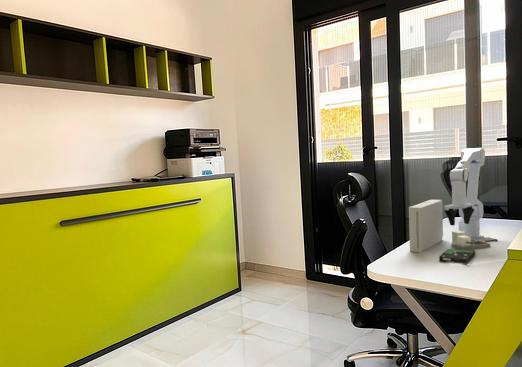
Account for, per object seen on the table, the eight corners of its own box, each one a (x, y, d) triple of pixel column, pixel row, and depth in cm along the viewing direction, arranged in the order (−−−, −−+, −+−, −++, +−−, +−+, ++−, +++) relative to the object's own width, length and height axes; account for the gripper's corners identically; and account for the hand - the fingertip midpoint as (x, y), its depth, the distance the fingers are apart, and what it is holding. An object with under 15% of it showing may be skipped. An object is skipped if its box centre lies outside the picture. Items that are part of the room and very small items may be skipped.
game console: (408, 251, 178) (407, 207, 176) (430, 239, 197) (430, 199, 196) (421, 253, 174) (420, 207, 172) (443, 240, 193) (442, 200, 192)
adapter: (456, 247, 178) (456, 236, 177) (464, 246, 179) (464, 235, 178) (468, 251, 171) (468, 239, 170) (476, 250, 171) (476, 238, 171)
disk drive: (467, 266, 153) (475, 256, 165) (467, 259, 153) (475, 250, 165) (438, 263, 160) (448, 253, 171) (438, 256, 160) (448, 247, 171)
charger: (452, 244, 186) (452, 231, 185) (459, 243, 187) (459, 230, 186) (458, 246, 182) (458, 233, 181) (465, 245, 183) (465, 232, 182)
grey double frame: (451, 247, 179) (451, 242, 179) (478, 244, 182) (478, 239, 182) (462, 251, 172) (462, 246, 172) (490, 248, 175) (490, 243, 175)
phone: (468, 241, 189) (468, 239, 188) (488, 239, 191) (488, 236, 191) (477, 244, 183) (477, 241, 183) (497, 241, 186) (497, 239, 185)
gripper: (451, 197, 177) (451, 227, 178) (479, 194, 180) (479, 224, 181) (440, 195, 184) (441, 224, 185) (467, 193, 187) (468, 221, 188)
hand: (459, 224), depth 183 cm, fingers open, 7 cm apart
